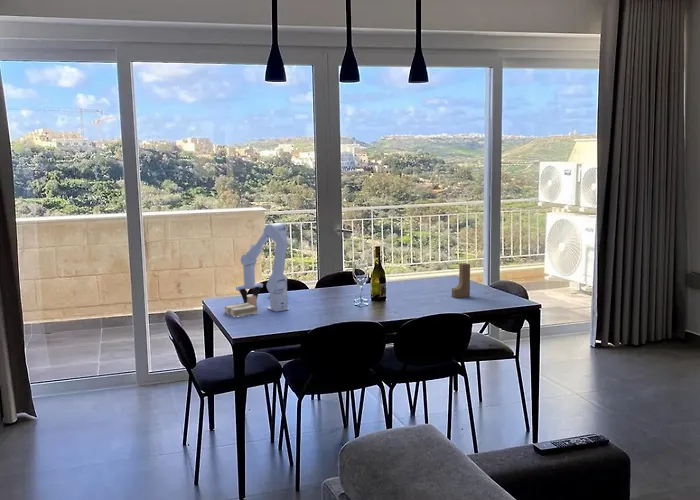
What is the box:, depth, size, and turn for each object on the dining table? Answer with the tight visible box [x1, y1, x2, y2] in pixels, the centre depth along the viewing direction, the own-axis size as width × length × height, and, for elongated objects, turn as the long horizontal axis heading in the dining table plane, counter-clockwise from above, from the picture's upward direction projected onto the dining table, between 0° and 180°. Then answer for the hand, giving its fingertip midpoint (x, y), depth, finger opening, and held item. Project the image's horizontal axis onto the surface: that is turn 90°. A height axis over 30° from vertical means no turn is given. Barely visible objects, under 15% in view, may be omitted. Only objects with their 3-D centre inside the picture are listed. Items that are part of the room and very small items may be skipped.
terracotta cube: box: [247, 293, 258, 306], centre depth 355 cm, size 5×5×5 cm
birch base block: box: [224, 302, 258, 318], centre depth 337 cm, size 12×12×4 cm
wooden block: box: [451, 262, 471, 299], centre depth 366 cm, size 9×4×18 cm, turn 108°
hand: (250, 302), depth 355 cm, fingers closed on terracotta cube, 5 cm apart
